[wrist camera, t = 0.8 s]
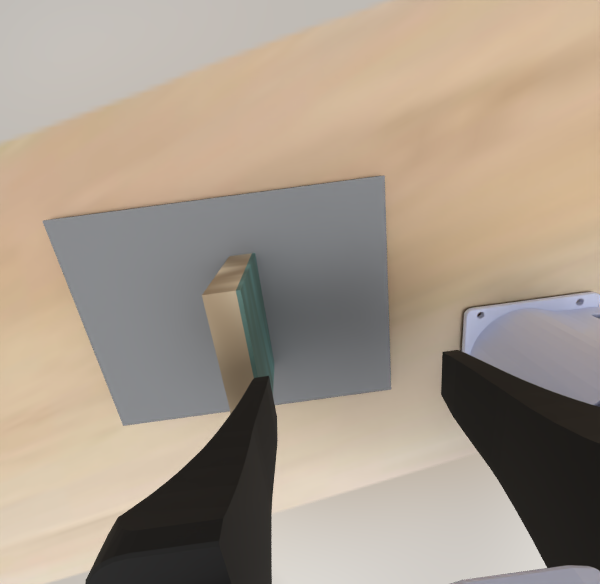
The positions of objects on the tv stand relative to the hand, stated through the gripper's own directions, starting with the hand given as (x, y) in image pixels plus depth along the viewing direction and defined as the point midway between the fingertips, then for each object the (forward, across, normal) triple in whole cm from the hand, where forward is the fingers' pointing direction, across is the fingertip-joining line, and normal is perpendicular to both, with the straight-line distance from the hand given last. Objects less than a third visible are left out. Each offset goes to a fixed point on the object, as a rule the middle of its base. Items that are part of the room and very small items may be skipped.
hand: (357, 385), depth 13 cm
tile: (+9, +5, 0) cm, 10 cm away
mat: (+9, +6, 0) cm, 11 cm away
